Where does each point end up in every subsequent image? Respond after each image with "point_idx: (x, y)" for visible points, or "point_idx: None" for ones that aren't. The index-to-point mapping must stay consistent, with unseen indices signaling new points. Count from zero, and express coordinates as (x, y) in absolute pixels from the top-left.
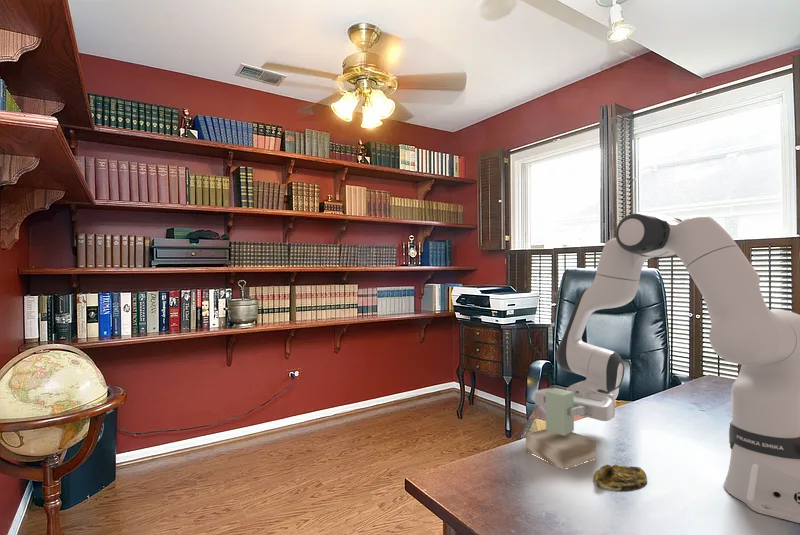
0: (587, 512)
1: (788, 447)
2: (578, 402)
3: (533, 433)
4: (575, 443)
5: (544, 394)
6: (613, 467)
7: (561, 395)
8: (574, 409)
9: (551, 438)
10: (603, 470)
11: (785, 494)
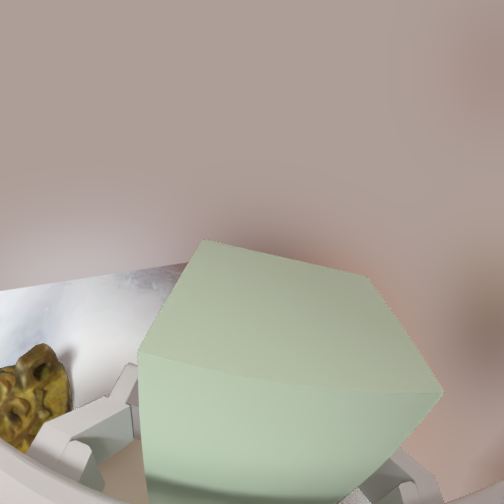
0: (93, 299)
1: None
2: (90, 488)
3: None
4: (128, 467)
5: (492, 486)
6: (9, 442)
7: (223, 246)
8: (119, 378)
9: None
10: (43, 344)
11: None
